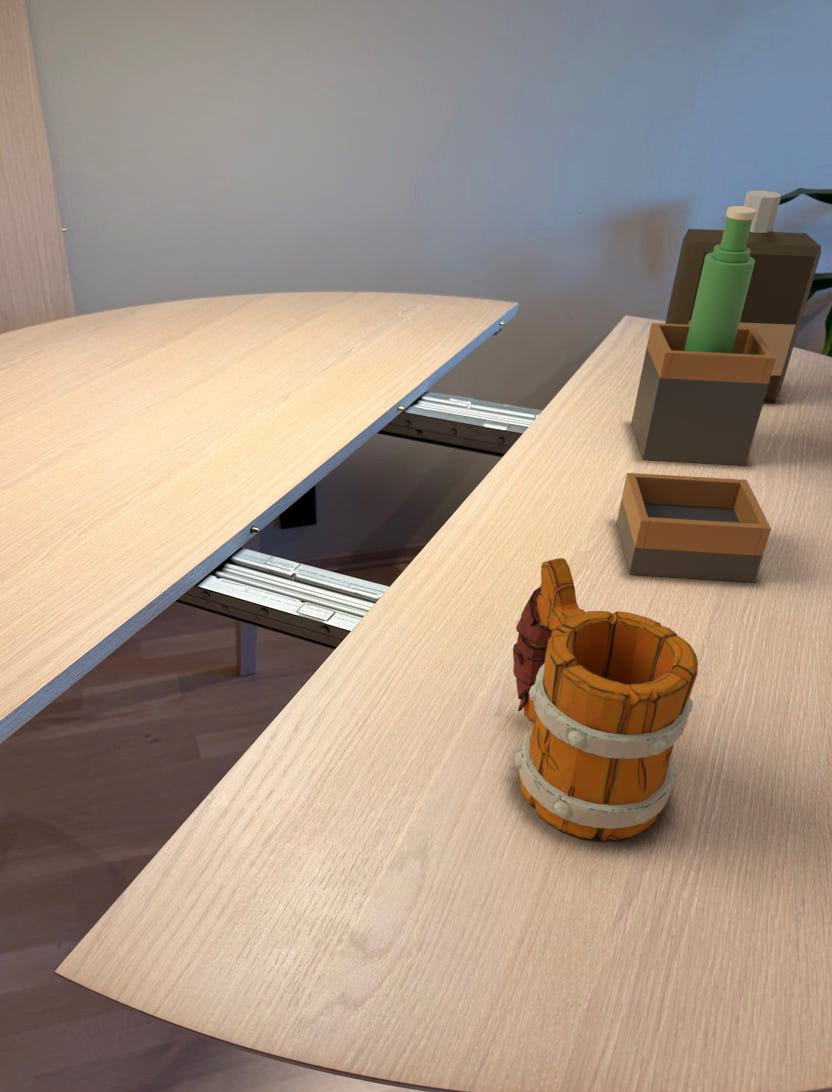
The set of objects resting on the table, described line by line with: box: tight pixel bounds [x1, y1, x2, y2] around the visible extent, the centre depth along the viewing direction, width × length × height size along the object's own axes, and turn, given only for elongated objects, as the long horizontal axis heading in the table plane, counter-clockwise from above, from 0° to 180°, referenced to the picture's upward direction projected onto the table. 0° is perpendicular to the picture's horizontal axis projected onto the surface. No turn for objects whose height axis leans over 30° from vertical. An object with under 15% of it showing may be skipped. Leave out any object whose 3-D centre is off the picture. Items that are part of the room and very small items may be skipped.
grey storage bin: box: [630, 322, 776, 466], centre depth 116 cm, size 12×10×13 cm
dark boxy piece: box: [664, 189, 822, 403], centre depth 126 cm, size 8×16×25 cm, turn 87°
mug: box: [512, 557, 699, 842], centre depth 69 cm, size 11×16×15 cm, turn 24°
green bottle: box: [684, 205, 756, 354], centre depth 109 cm, size 5×5×17 cm
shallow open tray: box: [616, 472, 772, 583], centre depth 97 cm, size 12×10×6 cm
